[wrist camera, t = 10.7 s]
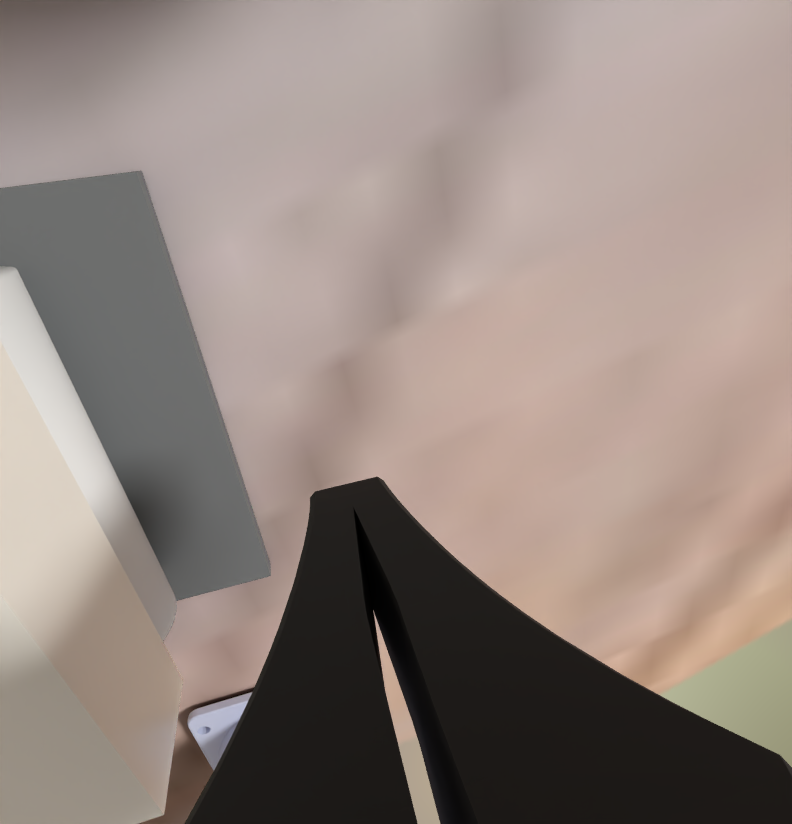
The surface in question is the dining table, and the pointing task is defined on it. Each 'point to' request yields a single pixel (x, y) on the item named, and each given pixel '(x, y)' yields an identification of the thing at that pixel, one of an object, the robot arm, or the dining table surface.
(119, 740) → the slab
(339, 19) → the dining table surface
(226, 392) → the dining table surface
